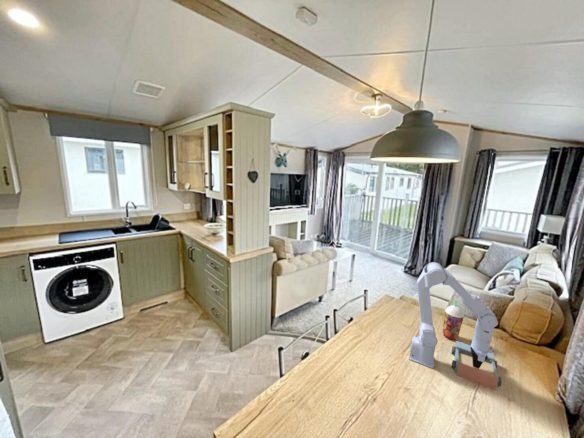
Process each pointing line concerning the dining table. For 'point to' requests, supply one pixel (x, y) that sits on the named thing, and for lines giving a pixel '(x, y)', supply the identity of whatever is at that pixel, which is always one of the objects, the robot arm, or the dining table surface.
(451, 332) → the smoothie
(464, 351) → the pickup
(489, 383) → the tailgate
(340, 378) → the dining table surface
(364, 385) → the dining table surface
